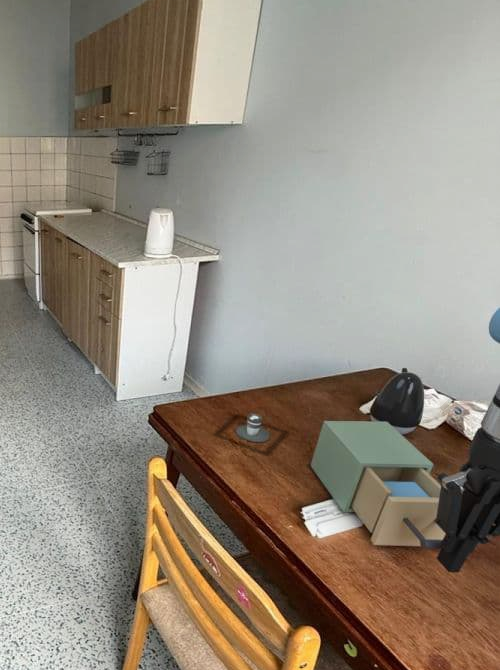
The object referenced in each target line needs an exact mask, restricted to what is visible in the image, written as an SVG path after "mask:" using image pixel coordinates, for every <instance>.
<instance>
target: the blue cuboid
mask: <svg viewBox="0 0 500 670" xmlns="http://www.w3.org/2000/svg"><path fill="white" fill-rule="evenodd" d="M383 483H384V484H385V485H386V486H387V487H388V488H389V489H390V491H391V492H392V494H391V497H428V498H430V497H429V496H428V495H427V494H426V493H425V492H424V491H423V490H422V489H421V488H420V487H419V486H418V485H417V484H416V483H415V482H385V481H383Z"/></svg>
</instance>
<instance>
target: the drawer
mask: <svg viewBox="0 0 500 670" xmlns="http://www.w3.org/2000/svg"><path fill="white" fill-rule="evenodd" d="M383 481H385V482H415V483H416V484H417V485H418V486H419V487H420V488H421V489H422V490H423V491H424V492H425V493H426V494H427V495H428V496H429V497H430V498H428V497H391V494H392V492H391V491H390V489H389V488H388V487H387V486H386V485H385V484H384V483H383ZM440 490H441V485H440V483H439V481H437V480H436V479H435V478H434V477H433V476H432V475H431V474H428V473H427V472H426V471H425V470H424V469H423V468H411V467H364V468H363V471H362V473H361V476H360V479H359V482H358V484H357V487H356V490H355V493H354V495H353V498H352V501H351V504H350V505H351V507H352V508H353V509H354V511H355V512H354V513H355V514H356V515H357V516H358V518H359V520H360V521H361V522H362V523H363V524H364V526H365V527H366V528H367V530H368V531H369V532H370V534H372V535H371V537H370V541H371V543H372V544H373V545H374V546H399V547H401V546H402V547H421V548H422V549H425V550H427V549H428V550H441V549H442V546H441V542H442V541H443V539H444V536H445V534H446V533H445V532H444V531H443V530H442V529H441V528H440V527H439V526H438V525H437V524H436V516H437V510H438V503H439V496H440Z"/></svg>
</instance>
